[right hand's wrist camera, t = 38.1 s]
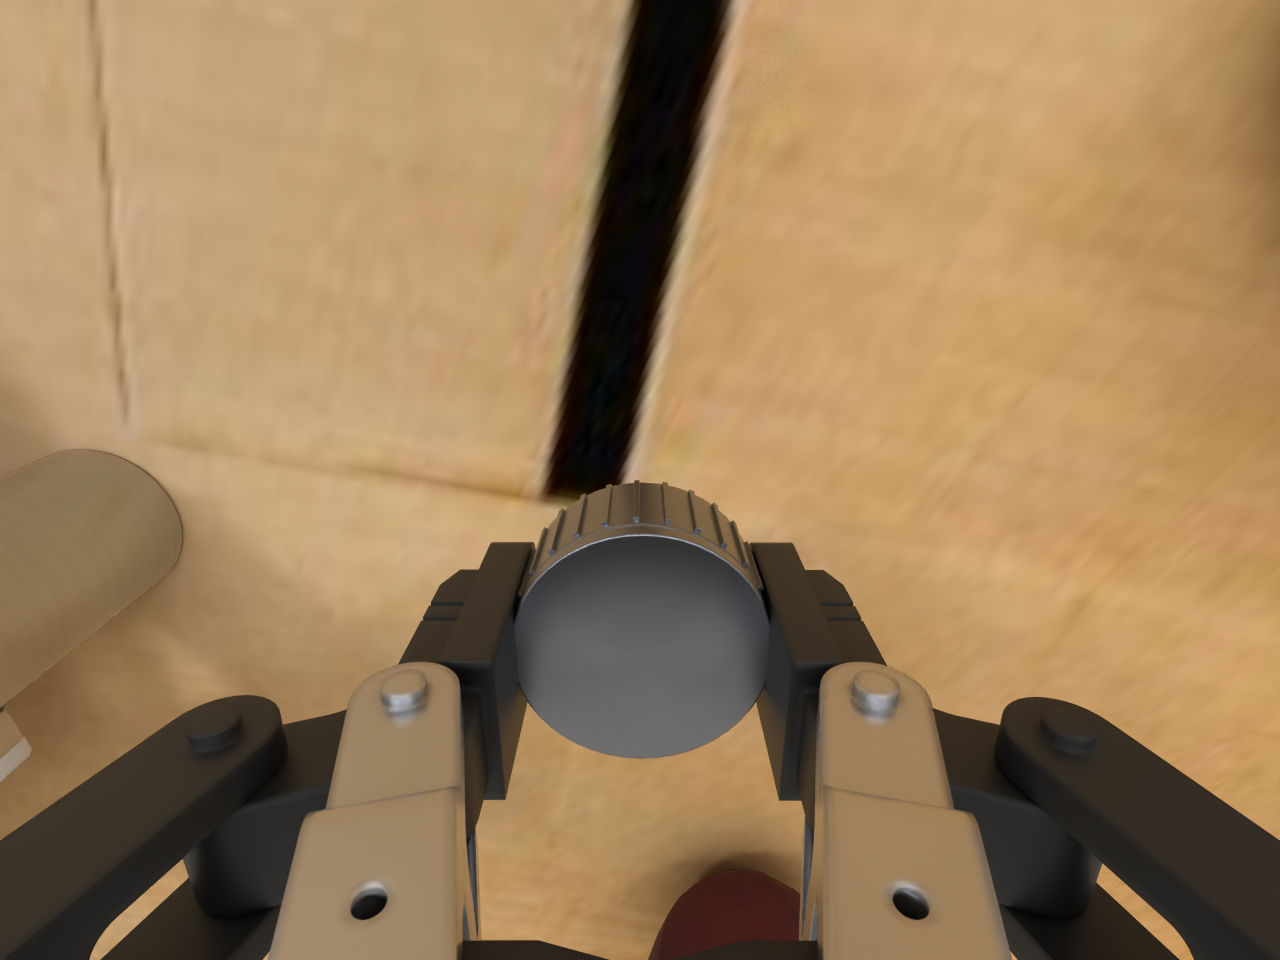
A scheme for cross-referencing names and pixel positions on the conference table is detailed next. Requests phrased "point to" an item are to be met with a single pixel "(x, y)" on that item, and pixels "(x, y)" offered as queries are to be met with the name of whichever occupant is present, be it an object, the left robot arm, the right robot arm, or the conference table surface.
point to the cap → (641, 623)
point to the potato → (728, 914)
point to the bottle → (75, 554)
